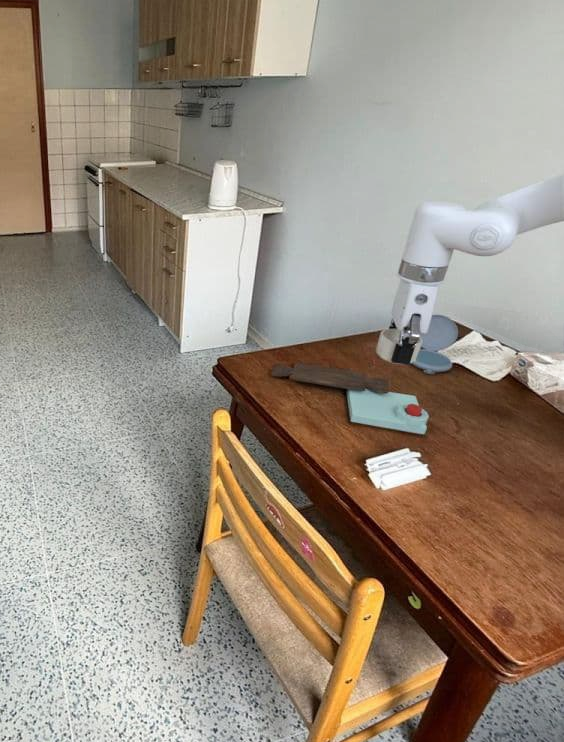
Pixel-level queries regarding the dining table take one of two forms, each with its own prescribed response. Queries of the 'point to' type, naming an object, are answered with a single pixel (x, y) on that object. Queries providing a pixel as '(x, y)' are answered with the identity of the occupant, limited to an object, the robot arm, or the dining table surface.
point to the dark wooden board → (331, 377)
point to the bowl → (393, 344)
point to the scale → (385, 410)
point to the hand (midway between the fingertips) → (396, 352)
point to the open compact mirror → (436, 345)
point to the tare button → (413, 410)
